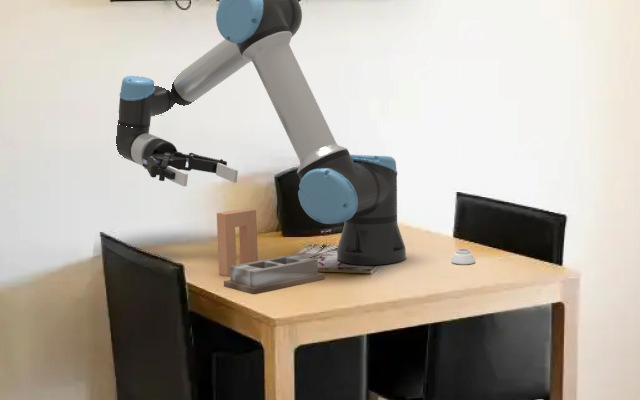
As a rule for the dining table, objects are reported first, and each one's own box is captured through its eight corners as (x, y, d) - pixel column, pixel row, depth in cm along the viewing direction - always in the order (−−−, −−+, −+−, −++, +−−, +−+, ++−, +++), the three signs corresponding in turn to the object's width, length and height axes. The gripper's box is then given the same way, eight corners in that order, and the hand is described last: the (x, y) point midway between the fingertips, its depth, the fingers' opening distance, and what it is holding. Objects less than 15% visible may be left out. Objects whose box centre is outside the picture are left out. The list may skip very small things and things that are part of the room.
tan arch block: (219, 274, 224) (216, 213, 222) (249, 268, 229) (247, 208, 227) (227, 276, 222) (225, 214, 220) (258, 270, 227) (256, 209, 225)
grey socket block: (223, 285, 213) (223, 266, 212) (293, 271, 224) (293, 253, 224) (254, 294, 205) (253, 273, 205) (324, 278, 217) (324, 259, 216)
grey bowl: (447, 262, 230) (458, 266, 226) (447, 249, 230) (458, 253, 225) (467, 260, 232) (479, 264, 228) (467, 246, 232) (479, 250, 227)
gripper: (197, 167, 253) (253, 191, 239) (106, 172, 236) (161, 199, 222) (200, 136, 251) (257, 158, 237) (109, 139, 234) (165, 164, 220)
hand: (211, 178), depth 229 cm, fingers open, 13 cm apart
